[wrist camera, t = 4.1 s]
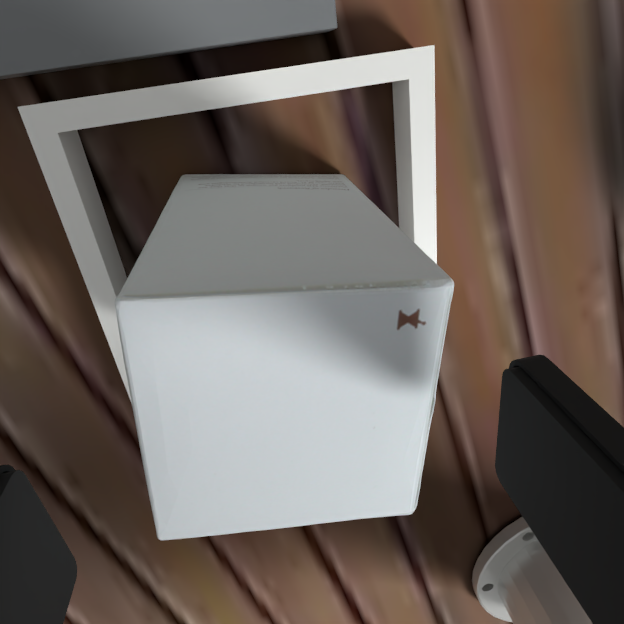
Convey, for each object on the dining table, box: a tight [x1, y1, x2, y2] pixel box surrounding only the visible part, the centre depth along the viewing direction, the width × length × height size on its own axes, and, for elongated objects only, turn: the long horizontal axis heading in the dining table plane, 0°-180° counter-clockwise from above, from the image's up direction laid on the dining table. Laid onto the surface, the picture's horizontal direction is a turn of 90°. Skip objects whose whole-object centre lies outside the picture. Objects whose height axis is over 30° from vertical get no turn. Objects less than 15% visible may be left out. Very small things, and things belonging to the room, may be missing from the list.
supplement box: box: [115, 174, 454, 541], centre depth 17 cm, size 7×7×13 cm
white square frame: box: [18, 45, 437, 403], centre depth 21 cm, size 15×15×2 cm
